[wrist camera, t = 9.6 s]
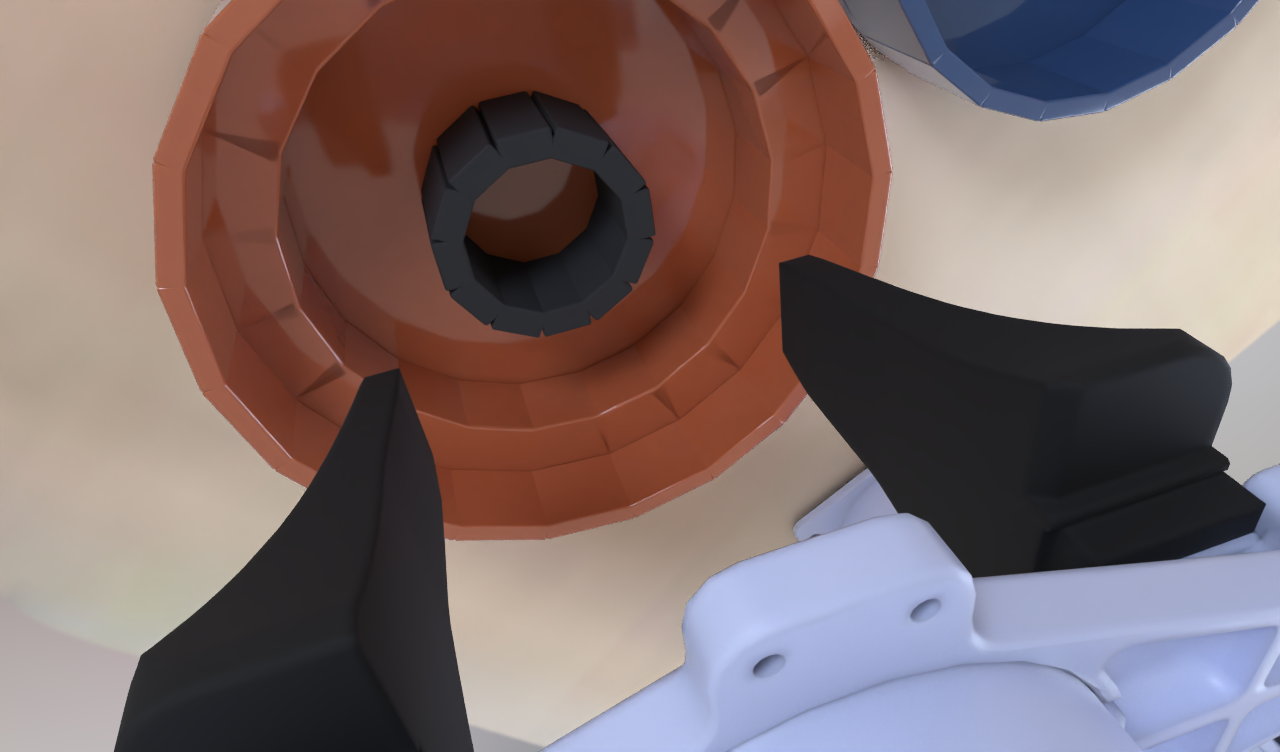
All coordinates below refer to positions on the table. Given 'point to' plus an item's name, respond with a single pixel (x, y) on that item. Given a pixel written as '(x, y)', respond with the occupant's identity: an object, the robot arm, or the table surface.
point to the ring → (554, 284)
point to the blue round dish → (1045, 47)
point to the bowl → (512, 234)
